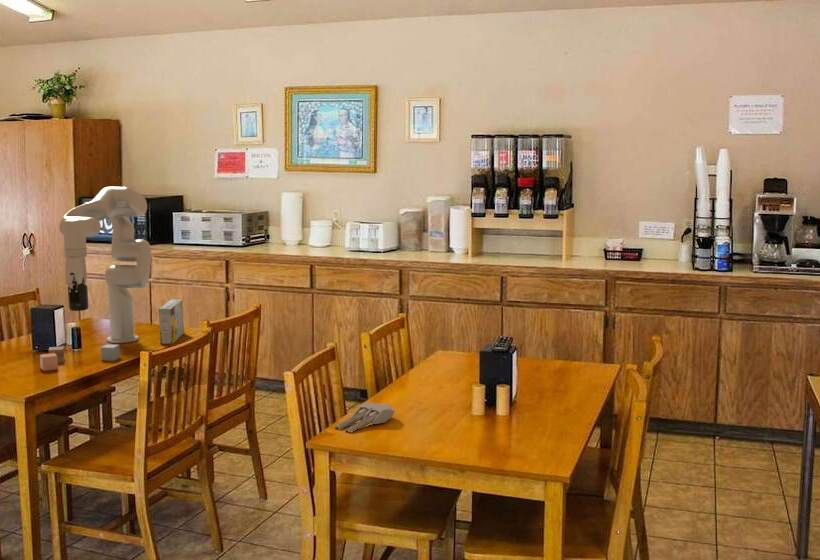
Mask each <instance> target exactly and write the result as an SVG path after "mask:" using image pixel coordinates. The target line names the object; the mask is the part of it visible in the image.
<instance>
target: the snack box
mask: <svg viewBox="0 0 820 560" xmlns="http://www.w3.org/2000/svg"><path fill="white" fill-rule="evenodd" d="M183 308H184V307H183V299H170V300H169V301H167V302H165V304H163V305H162V306H161V307H160V308H158V321H159V322H158V323H159V335H160V337H159V338H160V345H173V344H174V343H175V342H176V341H177V340H179V338H181V337H182V335H184V334H185V326H184V311H183Z"/></svg>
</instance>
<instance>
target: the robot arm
mask: <svg viewBox="0 0 820 560" xmlns="http://www.w3.org/2000/svg"><path fill="white" fill-rule="evenodd" d="M147 210H148V203H147V200H146V198H145V197H144V196H143V195H142V194H141V193H139V192H138V191H137V190H135V189H133V188H131V187H128V186H106V187H103V188H101V190H99V192H98V193H97V194H95V196H94V197H93V198H92V199H91V200H90V201H89V202H86V203H83V204H80V205H79V206H75V207H73V208H72V209H70V210H68V211H67V212H66V213H65V214H64V215H63V217H62V218H61V220H60V222H59V232H60V233H61V234H62V235H63V247H64V248H63V250H64V258H65V270H64V271H65V274H64V275H65V284H66V285H67V286H69V292H70V303H79V302H80V299H79V292H78V287H79V284H81V283H82V280H83V278H84V284H86V281H87V279H88V278H87V276H88V275H87V264H86V258H87V255H88V254H87V238H93V237H96V236H98V235H99V233H100V232H101V230H102V229H101V227H102V225H101V222H100V221H104V220H105V219H107V218H108V219H109V221H110V223H111V226H112V236H111V248H110V249H111V250H110V255H111V258H112V260H113V261H115V262H120V263H136V264H112V265H110V266H108V267H107V268H106V269H105V272H104V279H105V284H106V288H107V295H108V311H109V314H108V315H109V316H108V317H109V331H110V332H109V334H110V335H109V336H107V337H106V342H107V343H108V342H109V343H111V344H125V343H132V342H135V341H138V340H139V336H138V335H137V334H135V318H134V314H135V312H134V298H133V295H132V293H131V291H130V290H129V289H143V288H146V287H147V286H148V285H149V282H150V277H151V276H150V274H151V263H152V262H151V261H152V247H151V244H150V243H149V241H147V240H146V239H141V238H138V239H137V238H135V227H134V225H133V223H132V222H131V220H130V219H129V217H137V218H139V217H142V216H144V215H145V214H146V213H147ZM75 286H76V288H75Z"/></svg>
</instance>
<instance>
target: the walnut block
mask: <svg viewBox="0 0 820 560" xmlns="http://www.w3.org/2000/svg"><path fill="white" fill-rule="evenodd" d="M64 347H65V346H52V347H51V346H49V348H48V354H51V353H55V354H56V355H57V361H58V364H59V363H65V348H64Z"/></svg>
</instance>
